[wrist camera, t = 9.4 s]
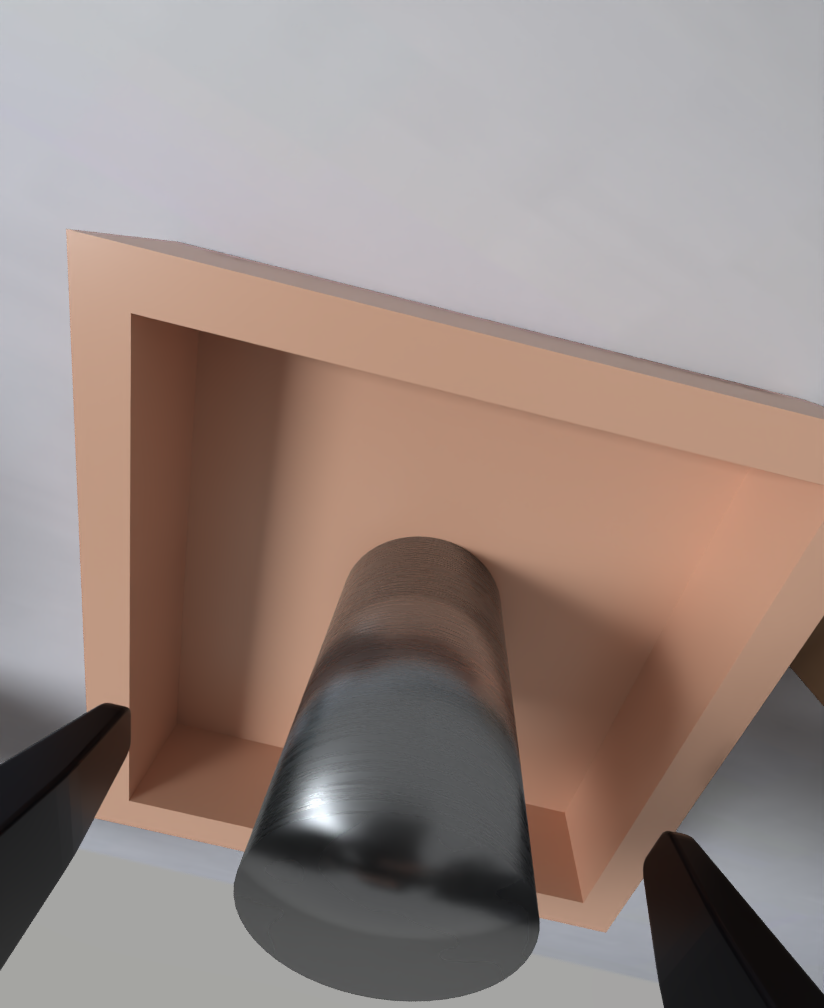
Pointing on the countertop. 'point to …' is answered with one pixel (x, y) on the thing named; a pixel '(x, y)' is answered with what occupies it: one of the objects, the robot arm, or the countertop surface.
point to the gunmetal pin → (400, 793)
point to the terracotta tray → (425, 513)
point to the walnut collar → (812, 662)
